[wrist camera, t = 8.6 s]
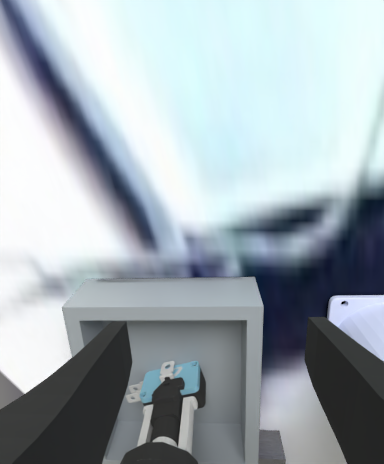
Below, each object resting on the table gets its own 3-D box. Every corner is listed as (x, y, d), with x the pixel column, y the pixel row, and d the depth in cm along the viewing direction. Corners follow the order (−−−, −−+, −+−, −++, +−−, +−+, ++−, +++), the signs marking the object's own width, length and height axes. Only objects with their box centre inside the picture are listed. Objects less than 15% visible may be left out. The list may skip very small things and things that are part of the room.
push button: (142, 406, 26) (103, 561, 17) (119, 359, 25) (62, 499, 15) (215, 391, 25) (217, 548, 16) (195, 341, 24) (185, 479, 14)
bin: (254, 276, 22) (263, 306, 18) (251, 426, 27) (257, 474, 23) (86, 279, 23) (61, 307, 19) (111, 422, 28) (95, 468, 24)
